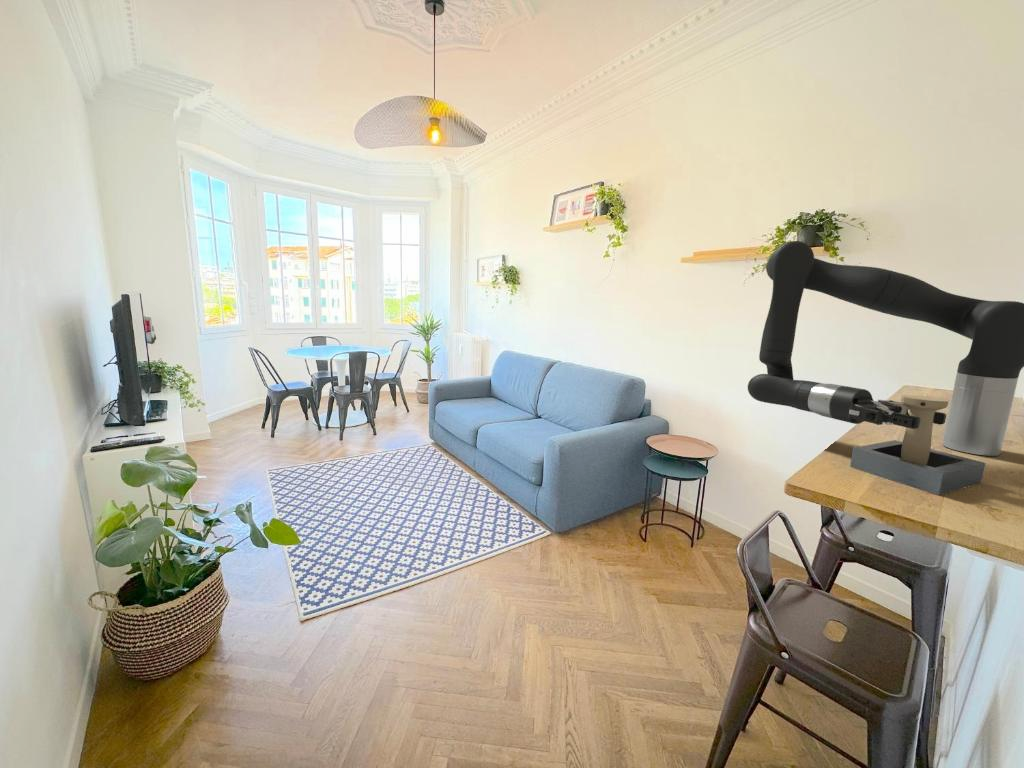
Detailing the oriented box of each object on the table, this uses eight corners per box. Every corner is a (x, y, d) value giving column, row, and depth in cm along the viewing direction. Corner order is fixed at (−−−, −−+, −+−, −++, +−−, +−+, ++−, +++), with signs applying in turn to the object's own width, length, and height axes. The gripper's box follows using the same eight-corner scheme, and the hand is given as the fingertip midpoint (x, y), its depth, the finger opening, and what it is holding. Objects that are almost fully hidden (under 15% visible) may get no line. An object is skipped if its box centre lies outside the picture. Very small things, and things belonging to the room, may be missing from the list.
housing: (891, 458, 92) (894, 440, 91) (980, 483, 79) (985, 462, 79) (850, 466, 87) (853, 447, 86) (938, 495, 74) (943, 473, 73)
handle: (934, 482, 79) (948, 402, 77) (888, 472, 84) (900, 397, 81) (934, 475, 83) (948, 399, 80) (890, 466, 87) (902, 394, 85)
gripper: (820, 387, 91) (913, 404, 77) (861, 383, 97) (957, 398, 82) (814, 421, 93) (905, 445, 78) (856, 416, 98) (949, 436, 83)
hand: (932, 421), depth 80 cm, fingers open, 8 cm apart
